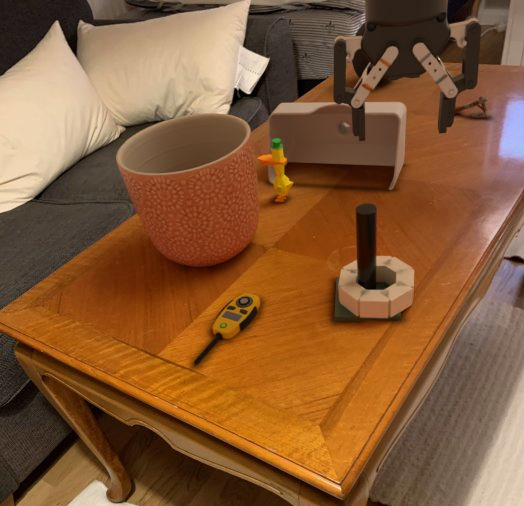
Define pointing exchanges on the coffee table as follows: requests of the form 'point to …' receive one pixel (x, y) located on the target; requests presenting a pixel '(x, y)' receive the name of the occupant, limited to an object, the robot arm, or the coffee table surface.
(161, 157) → the planter
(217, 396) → the coffee table surface
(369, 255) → the peg stand
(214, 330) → the yellow handheld probe meter
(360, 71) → the decorative egg
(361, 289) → the ring
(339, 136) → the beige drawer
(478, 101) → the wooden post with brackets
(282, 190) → the toy figure
